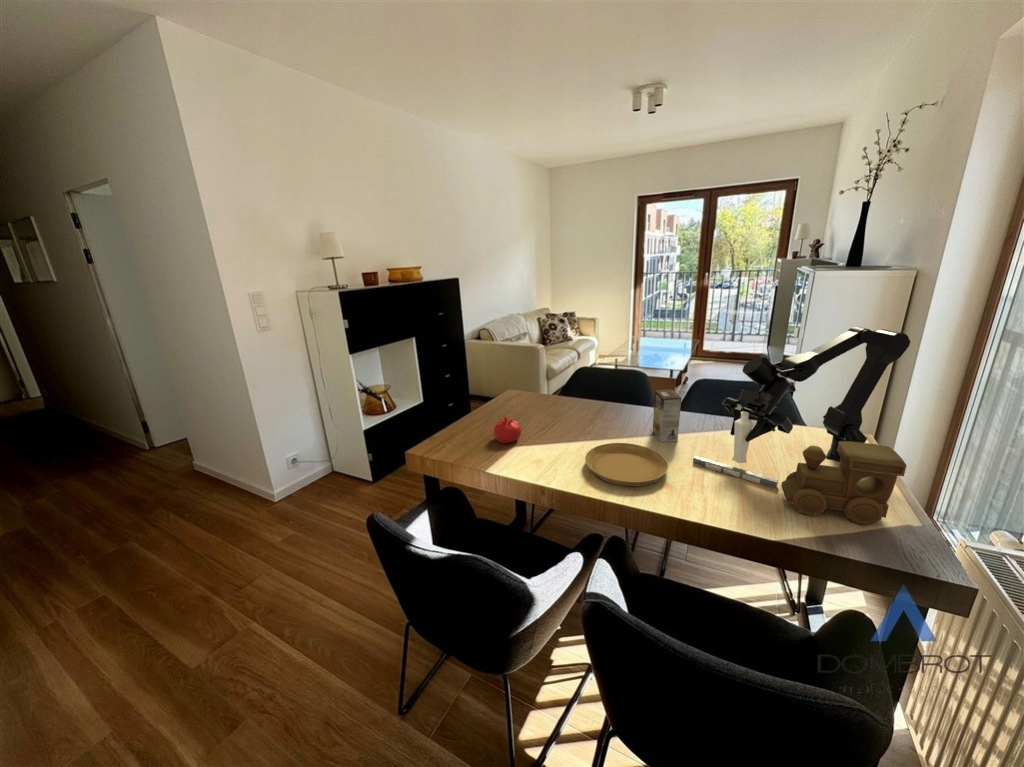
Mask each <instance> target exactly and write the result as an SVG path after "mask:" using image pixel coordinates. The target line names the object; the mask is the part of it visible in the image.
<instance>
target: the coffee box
mask: <svg viewBox="0 0 1024 767" xmlns="http://www.w3.org/2000/svg"><path fill="white" fill-rule="evenodd" d="M681 405H682V397H681V396H680V395H679V394H678V393H677V392H676V391H675V390H674V389H673V388H671V389H670V388H669V389H659V390H658V389H657V390H656V389H655V390H654V401H653V419H652V432H653V433H654V435H655V437H656V438H657V439H658V441H659V440H660V441H667V442H678V441H679V431H680V430H679V429H680V417H681ZM660 441H659V442H660Z"/></svg>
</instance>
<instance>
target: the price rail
mask: <svg viewBox="0 0 1024 767" xmlns="http://www.w3.org/2000/svg"><path fill="white" fill-rule="evenodd" d="M693 464H694V465H696V466H700V467H703V468H706V469H708V470H713V471H716V472H719V473H722V474H727V475H729V476H733V477H736V478H739V479H742V480H746V481H749V482H750V483H751V482H752V483H754V484H758V485H761V486H762V485H763V486H765V487H768V488H771V489H774V490H776V489H777V487H778V483H779V479H778V478H777V479H776V478H773V477H769V476H766V475H762V474H759V473H756V472H752V471H749V470H745V469H742V468H739V467H736V466H733V465H728V464H725V463H721V462H717V461H715V460H712V459H708V458H705V457H701V456H698V455H694V457H693V458H692V465H693Z"/></svg>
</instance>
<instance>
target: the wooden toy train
mask: <svg viewBox="0 0 1024 767" xmlns="http://www.w3.org/2000/svg"><path fill="white" fill-rule="evenodd" d="M837 452H838V454H839V455H840V457H841V458H840V461H839V463H838V467H836V466H832V465H831V466H830V465H823V464H822V463H823V462H824V461H825V460H826V459H827V457H826V455H827V454H825V452H824V450H823V449H822V447H820V446H818V445H809V446H808V447H807V448H805V449H803V451H802V455H803V456H802V457H803V459H804V461H805V462H798V463H797V465H796V466H797V467H796V469H795V471H793V472H791V473H789V474H788V475H787V477H786V478H785V480H782V482H781V485H780V487H781V489H782V493H783V495H784V498H785V502H789V503H791V504H792V506H793V508H794V510H796V511H797V512H799V513H801V515H805V516H817V515H820V514H822V513H824V511H825V510H826V509H829V510H834V511H835V510H837V511H842V512H844V514H845V516H846V518H848V519H849V520H850V521H851V522H853V523H855V524H858V525H862V526H863V525H864V526H865V525H866V526H868V525H870V526H871V525H874V524H877V523H879V521H881V520H882V518H887V514H888V510H889V506H890V505H889V504H888V501H889V500H890V498H891V496H892V493H893V491H894V488H895V485H896V482H897V478H898V477H904V476H905V473H906V470H907V467H908V465H907V464H906V463H905V461H904V459H903V457H901V455H899V454H898V452H897V451H895V450H894V449H893V448H892V447H890V446H888V445H882V444H874V443H870V442H869V443H867V442H865V443H860V442H848V441H839V443H838V447H837ZM864 478H865V479H864Z"/></svg>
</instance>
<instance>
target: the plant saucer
mask: <svg viewBox="0 0 1024 767" xmlns="http://www.w3.org/2000/svg"><path fill="white" fill-rule="evenodd" d="M584 458H585V459H584V461H585V464H586V465H587V467H588V469H589V470H590V471H591V472H592V474H594V475H595V476H596V477H597V478H599V479H602V481H603V480H604V481H605V482H608V483H610V484H613V485H617V486H624V487H643V486H646V485H649V484H653V483H655V482H657V481H659V480H660V479H661V478H663V477H664V476H665V475H666V473H667V472H668V469H669V463H668V461H667V460H666V457H664V456H663V455H662V454H661V453H659V452H658V451H656V450H654V449H653V448H649V447H646V446H644V445H640V444H635V443H628V442H611V443H610V442H609V443H604V444H600V445H597V446H594V447H593V448H591V449H590V450H588V452H587V453H586V455H585V457H584Z"/></svg>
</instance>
